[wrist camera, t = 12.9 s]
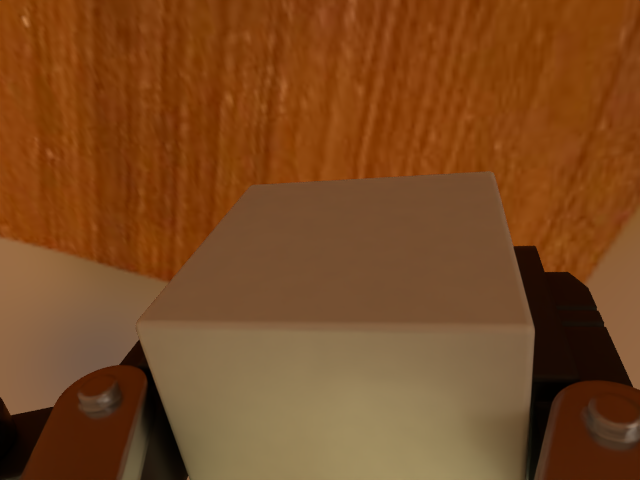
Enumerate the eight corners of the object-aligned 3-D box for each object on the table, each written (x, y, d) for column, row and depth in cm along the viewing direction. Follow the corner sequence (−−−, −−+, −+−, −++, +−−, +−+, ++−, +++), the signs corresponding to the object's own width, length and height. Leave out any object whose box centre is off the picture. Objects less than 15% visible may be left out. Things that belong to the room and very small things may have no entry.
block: (494, 169, 9) (537, 328, 5) (491, 371, 11) (519, 596, 7) (249, 183, 10) (129, 324, 6) (287, 365, 12) (215, 557, 8)
